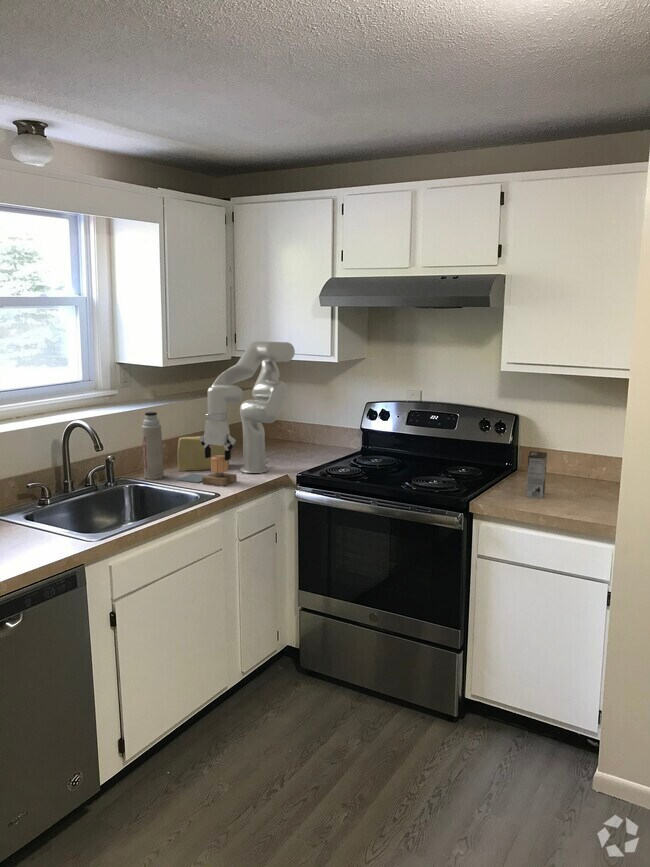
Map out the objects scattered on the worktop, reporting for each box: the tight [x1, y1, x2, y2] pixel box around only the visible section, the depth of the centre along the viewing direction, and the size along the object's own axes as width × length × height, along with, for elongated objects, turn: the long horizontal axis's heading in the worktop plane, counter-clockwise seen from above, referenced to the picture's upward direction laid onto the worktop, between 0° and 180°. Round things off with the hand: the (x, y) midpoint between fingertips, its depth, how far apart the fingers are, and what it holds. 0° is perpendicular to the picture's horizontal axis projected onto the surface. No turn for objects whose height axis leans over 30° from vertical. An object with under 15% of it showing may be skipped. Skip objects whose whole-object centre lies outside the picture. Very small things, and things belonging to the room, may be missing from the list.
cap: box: [210, 455, 229, 473], centre depth 296 cm, size 6×6×6 cm
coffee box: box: [526, 450, 548, 499], centre depth 275 cm, size 9×6×16 cm
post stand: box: [202, 472, 238, 487], centre depth 297 cm, size 10×10×10 cm
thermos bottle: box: [141, 411, 165, 480], centre depth 305 cm, size 8×8×28 cm
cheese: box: [177, 435, 230, 472], centre depth 321 cm, size 22×10×15 cm, turn 110°
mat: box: [176, 473, 208, 484], centre depth 304 cm, size 11×11×1 cm
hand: (217, 458), depth 295 cm, fingers open, 9 cm apart
